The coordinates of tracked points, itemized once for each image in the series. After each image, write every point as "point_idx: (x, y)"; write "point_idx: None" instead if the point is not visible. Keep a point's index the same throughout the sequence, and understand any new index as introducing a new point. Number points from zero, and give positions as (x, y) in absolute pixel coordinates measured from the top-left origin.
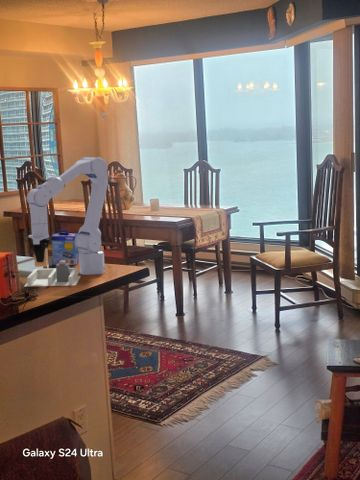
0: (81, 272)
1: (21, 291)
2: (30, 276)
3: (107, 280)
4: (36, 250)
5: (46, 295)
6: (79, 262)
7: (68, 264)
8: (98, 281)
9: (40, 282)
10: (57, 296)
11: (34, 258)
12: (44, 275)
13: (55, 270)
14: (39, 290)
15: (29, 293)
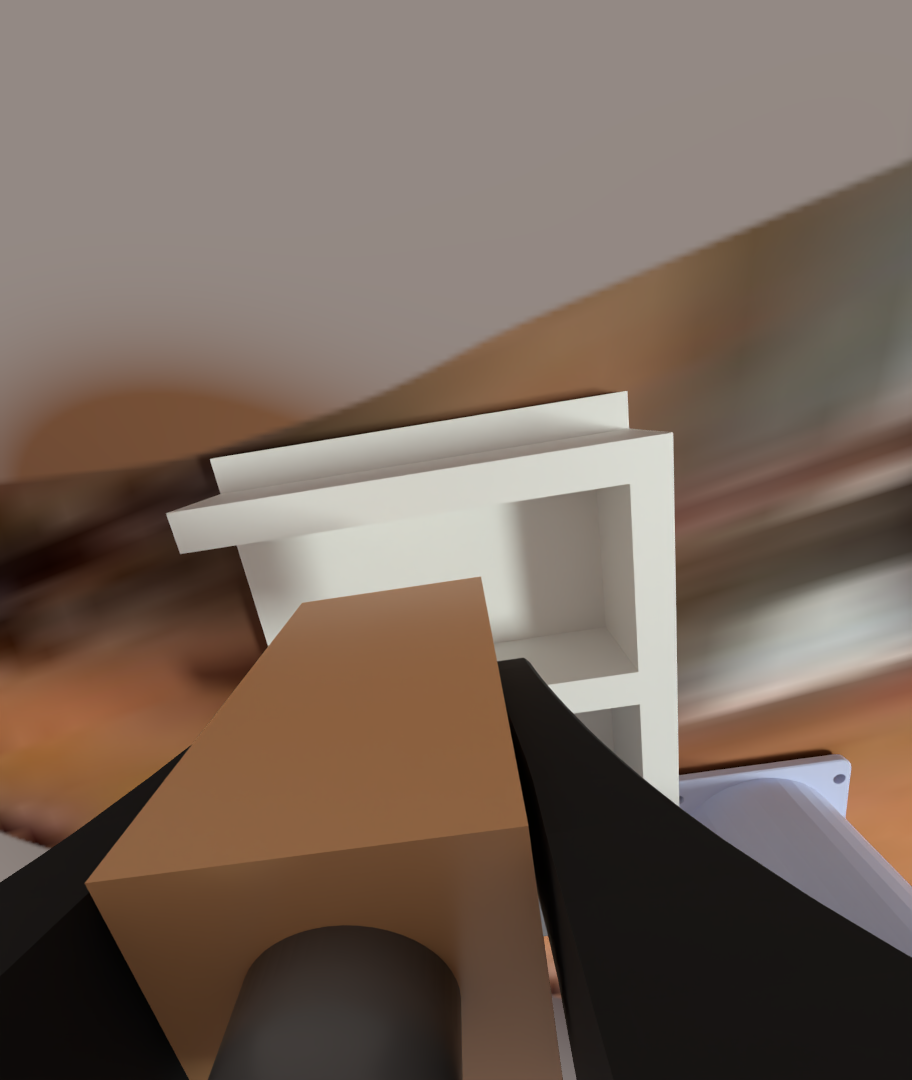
0: (712, 820)
1: (122, 469)
2: (245, 530)
3: (551, 965)
4: (51, 972)
5: (68, 719)
6: (811, 892)
7: None
8: None
9: (386, 567)
10: (69, 797)
11: (240, 684)
12: (607, 540)
13: (568, 706)
14: (196, 618)
15: (80, 569)
